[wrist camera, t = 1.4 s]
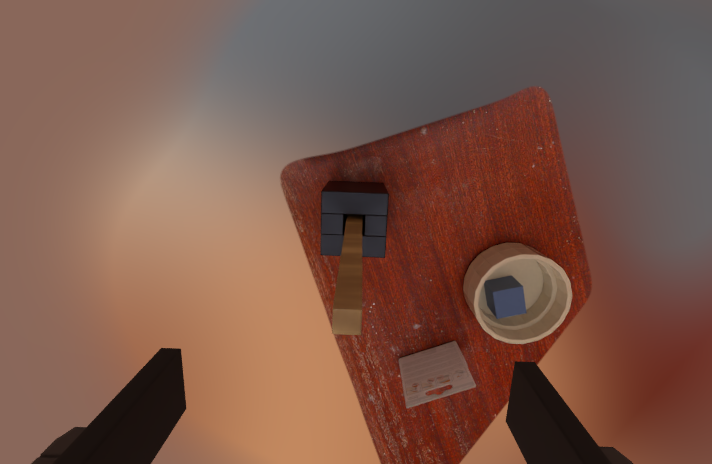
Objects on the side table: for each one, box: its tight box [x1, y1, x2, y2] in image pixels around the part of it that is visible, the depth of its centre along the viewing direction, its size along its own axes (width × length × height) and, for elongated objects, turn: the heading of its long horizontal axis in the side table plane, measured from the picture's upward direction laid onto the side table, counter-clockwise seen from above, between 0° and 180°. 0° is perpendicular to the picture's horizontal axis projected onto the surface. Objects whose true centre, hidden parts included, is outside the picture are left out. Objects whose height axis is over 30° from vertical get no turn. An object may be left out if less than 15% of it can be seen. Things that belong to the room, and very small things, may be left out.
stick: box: [332, 214, 362, 335], centre depth 38 cm, size 2×2×30 cm
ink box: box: [399, 341, 476, 408], centre depth 52 cm, size 3×9×12 cm, turn 111°
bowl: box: [463, 243, 572, 344], centre depth 52 cm, size 12×12×6 cm
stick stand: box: [321, 181, 389, 258], centre depth 47 cm, size 7×7×10 cm
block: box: [484, 275, 527, 319], centre depth 52 cm, size 4×4×4 cm
